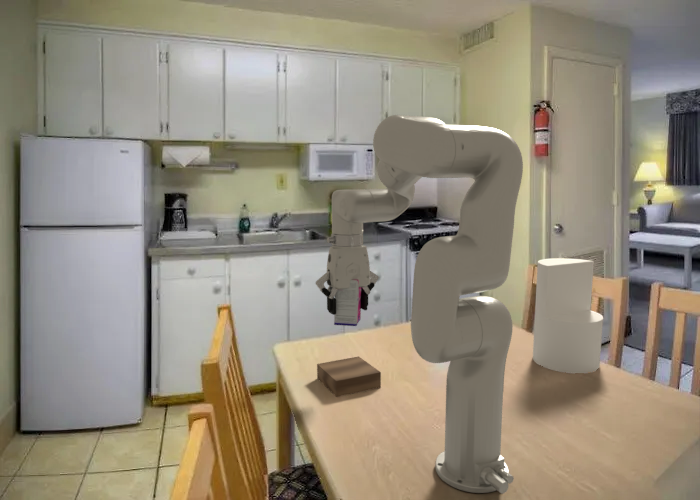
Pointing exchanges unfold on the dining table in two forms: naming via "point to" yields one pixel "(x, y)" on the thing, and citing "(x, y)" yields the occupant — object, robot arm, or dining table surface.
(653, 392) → the dining table surface
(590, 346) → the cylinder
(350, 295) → the supplement box
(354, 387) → the walnut riser block
